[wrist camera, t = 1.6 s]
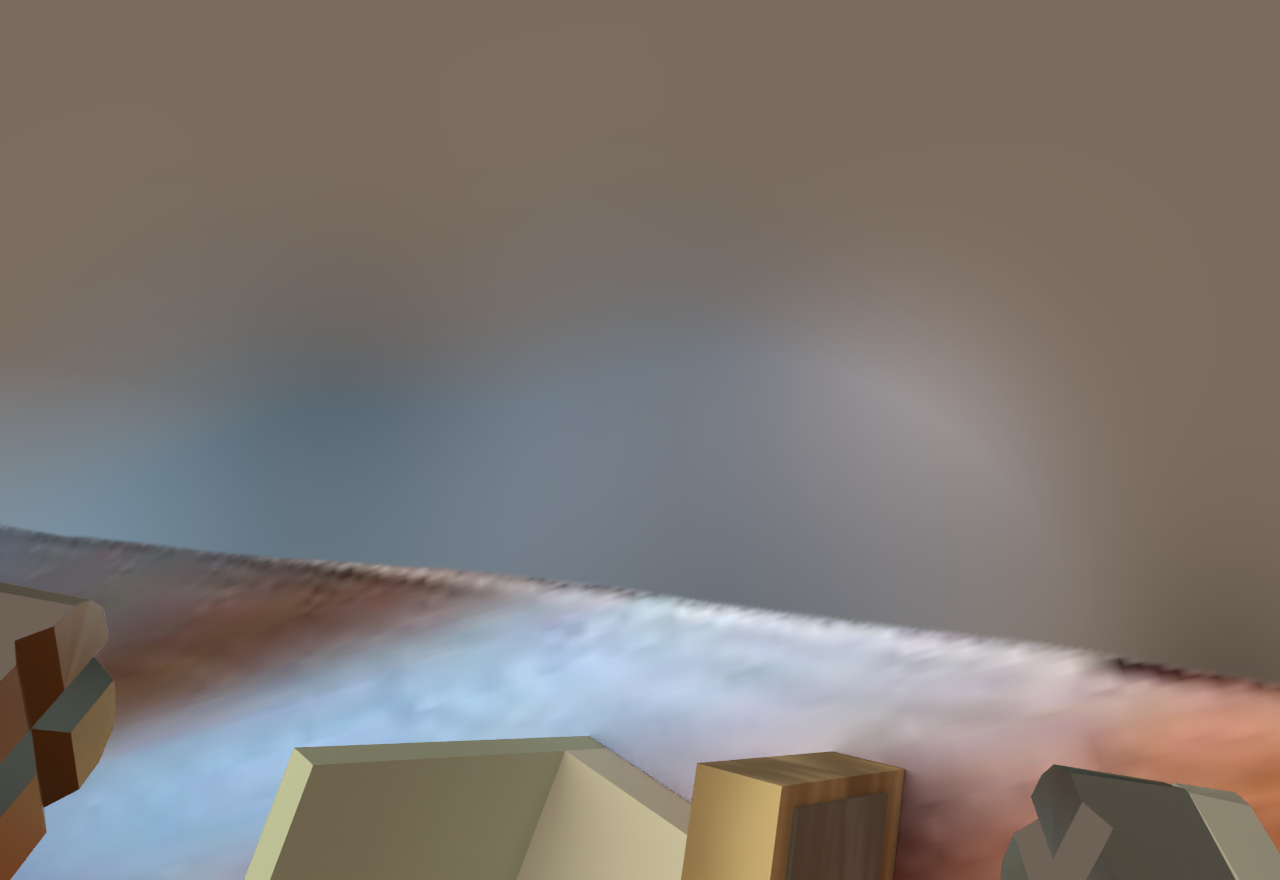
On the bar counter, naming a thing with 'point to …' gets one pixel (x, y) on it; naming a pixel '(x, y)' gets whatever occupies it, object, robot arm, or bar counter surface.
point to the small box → (794, 819)
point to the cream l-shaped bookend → (471, 814)
